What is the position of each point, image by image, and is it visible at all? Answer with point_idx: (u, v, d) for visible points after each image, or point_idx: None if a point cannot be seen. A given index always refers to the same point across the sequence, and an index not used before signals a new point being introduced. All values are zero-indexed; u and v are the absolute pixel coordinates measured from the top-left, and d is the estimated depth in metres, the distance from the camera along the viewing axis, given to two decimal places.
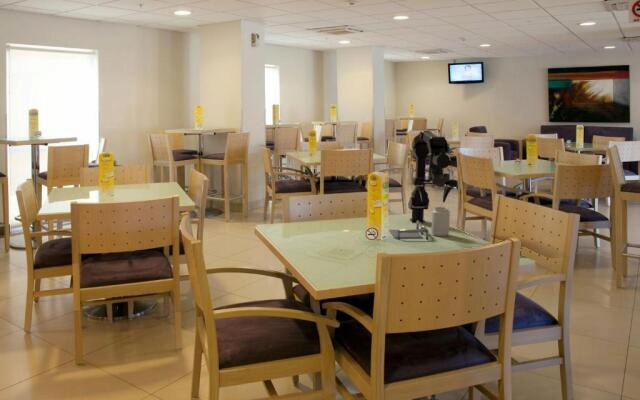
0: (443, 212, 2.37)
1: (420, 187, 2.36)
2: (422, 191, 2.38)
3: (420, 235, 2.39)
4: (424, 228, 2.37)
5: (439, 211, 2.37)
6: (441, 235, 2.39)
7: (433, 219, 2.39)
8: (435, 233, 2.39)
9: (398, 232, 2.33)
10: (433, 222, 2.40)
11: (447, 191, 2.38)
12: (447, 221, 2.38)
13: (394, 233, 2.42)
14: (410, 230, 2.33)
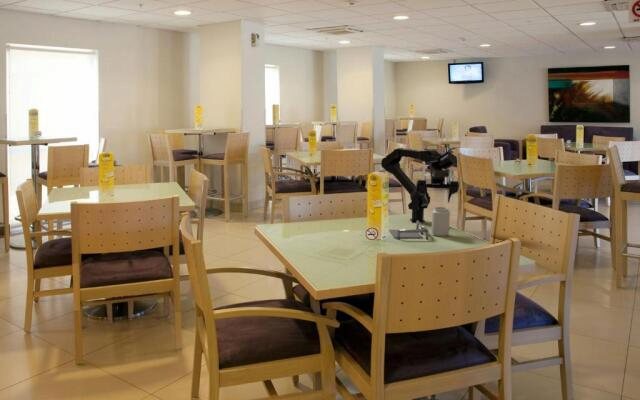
0: (443, 212, 2.37)
1: (423, 186, 2.49)
2: (426, 191, 2.49)
3: (420, 235, 2.39)
4: (424, 228, 2.37)
5: (439, 211, 2.37)
6: (441, 235, 2.39)
7: (433, 219, 2.39)
8: (435, 233, 2.39)
9: (398, 232, 2.33)
10: (433, 222, 2.40)
11: (450, 191, 2.49)
12: (447, 221, 2.38)
13: (394, 233, 2.42)
14: (410, 230, 2.33)
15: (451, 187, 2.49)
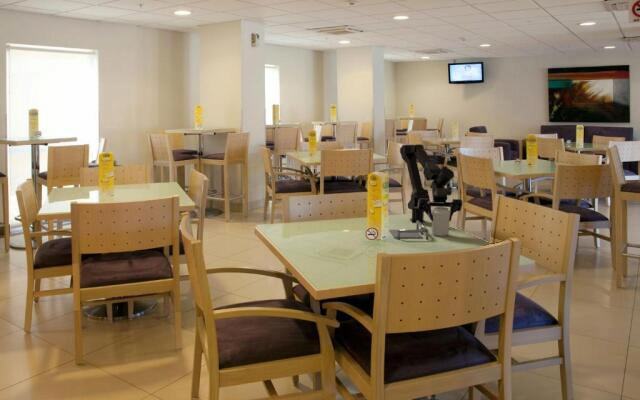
0: (443, 212, 2.37)
1: (427, 205, 2.41)
2: (430, 210, 2.41)
3: (420, 235, 2.39)
4: (424, 228, 2.37)
5: (439, 211, 2.37)
6: (441, 235, 2.39)
7: (433, 219, 2.39)
8: (435, 233, 2.39)
9: (398, 232, 2.33)
10: (433, 222, 2.40)
11: (452, 209, 2.41)
12: (447, 221, 2.38)
13: (394, 233, 2.42)
14: (410, 230, 2.33)
15: (452, 205, 2.41)
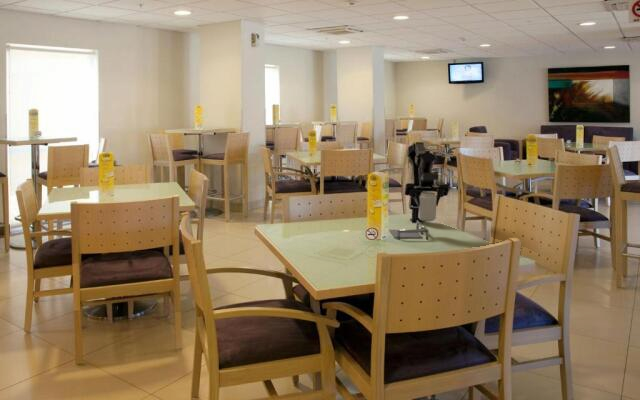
0: (430, 197, 2.36)
1: (414, 189, 2.40)
2: (416, 194, 2.40)
3: (420, 235, 2.39)
4: (424, 228, 2.37)
5: (426, 196, 2.36)
6: (428, 220, 2.38)
7: (420, 204, 2.39)
8: (422, 218, 2.38)
9: (398, 232, 2.33)
10: (420, 207, 2.39)
11: (438, 194, 2.40)
12: (434, 206, 2.37)
13: (394, 233, 2.42)
14: (410, 230, 2.33)
15: (439, 190, 2.40)
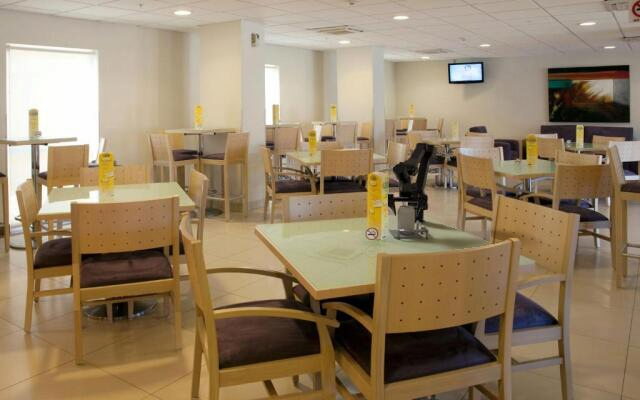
0: (408, 210, 2.37)
1: (391, 200, 2.42)
2: (394, 205, 2.41)
3: (420, 235, 2.39)
4: (424, 228, 2.37)
5: (404, 209, 2.38)
6: (406, 233, 2.39)
7: (398, 217, 2.40)
8: None
9: (398, 232, 2.33)
10: (398, 220, 2.40)
11: (418, 204, 2.41)
12: (412, 219, 2.39)
13: (394, 233, 2.42)
14: (410, 230, 2.33)
15: (419, 201, 2.41)
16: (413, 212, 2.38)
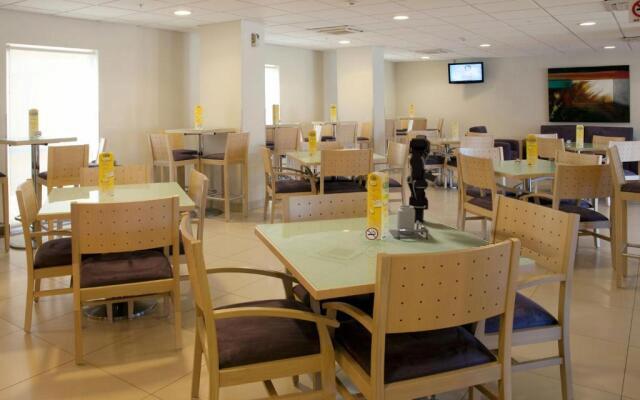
0: (408, 210, 2.37)
1: None
2: None
3: (420, 235, 2.39)
4: (424, 228, 2.37)
5: (404, 209, 2.38)
6: (406, 233, 2.39)
7: (398, 217, 2.40)
8: None
9: (398, 232, 2.33)
10: (398, 220, 2.40)
11: None
12: (412, 219, 2.38)
13: (394, 233, 2.42)
14: (410, 230, 2.33)
15: None
16: (413, 212, 2.38)
